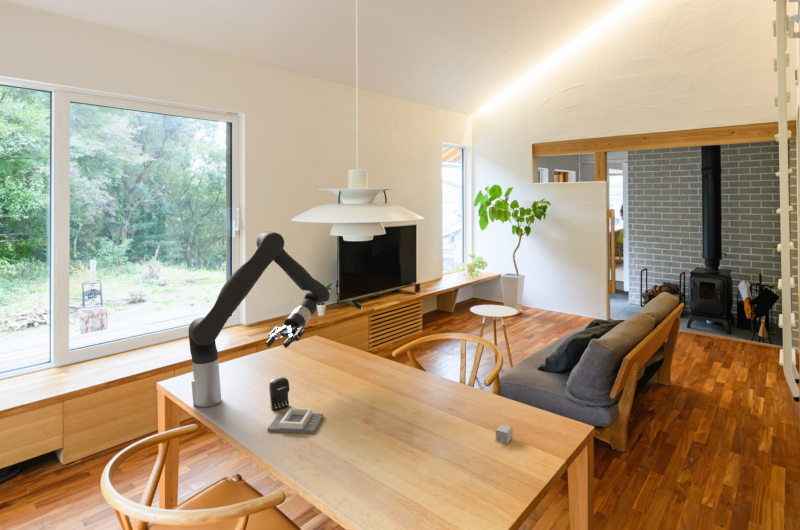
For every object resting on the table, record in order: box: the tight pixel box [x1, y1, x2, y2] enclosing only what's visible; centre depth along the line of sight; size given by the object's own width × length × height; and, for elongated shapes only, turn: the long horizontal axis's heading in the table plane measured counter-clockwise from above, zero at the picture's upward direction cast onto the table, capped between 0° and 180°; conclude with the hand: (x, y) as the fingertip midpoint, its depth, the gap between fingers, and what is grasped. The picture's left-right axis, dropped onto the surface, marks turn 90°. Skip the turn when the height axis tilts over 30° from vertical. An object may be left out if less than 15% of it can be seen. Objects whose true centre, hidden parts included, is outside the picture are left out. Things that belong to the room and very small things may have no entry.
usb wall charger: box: [494, 424, 514, 445], centre depth 144 cm, size 4×7×4 cm, turn 146°
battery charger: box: [268, 376, 290, 411], centre depth 169 cm, size 7×4×11 cm, turn 130°
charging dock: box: [267, 407, 324, 435], centre depth 157 cm, size 16×12×3 cm
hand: (275, 345), depth 171 cm, fingers open, 8 cm apart
